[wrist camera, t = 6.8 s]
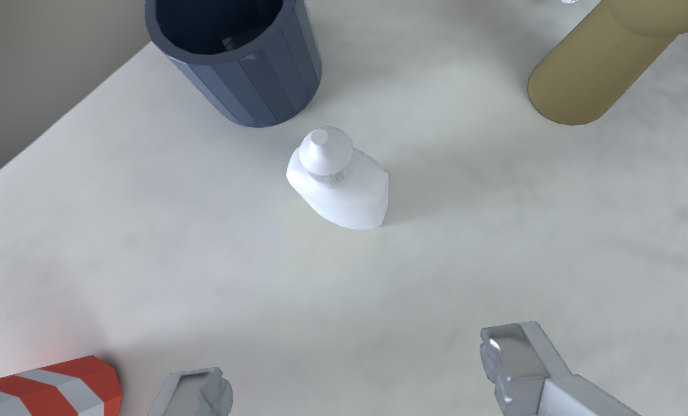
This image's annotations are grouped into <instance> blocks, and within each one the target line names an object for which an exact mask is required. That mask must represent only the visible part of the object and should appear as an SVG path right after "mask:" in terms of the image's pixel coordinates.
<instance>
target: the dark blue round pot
mask: <svg viewBox="0 0 688 416" xmlns="http://www.w3.org/2000/svg"><path fill="white" fill-rule="evenodd" d="M145 25H146V27H147V30H148V32H149V35H150V37H151V40H152V42H153V43H154V44H155V45H156V46H157V47H158V48H159V49H160V50H161V51H162V52H163V53H164V54H165V56H166V57H167V58H168V59H169V60H170V61H171V62H172V63H173V64H174V65H175V66H176V67H177V68H178V69H179V70H180V71H181V72H182V73H183V74H184V75H185V76H186V77H187V79H188V80H189V81H190V82H191V83H192V84H193V85H194V86H195V87H196V88H197V89H198V90H199V91H200V92H201V93H202V94H203V95H204V96H205V97H206V98H207V99H208V100H209V102H210V103H211V104H212V105H213V106H214V107H215V108H216V109H217V110H218V111H219V112H220V113H221V114H222V115H224V116H225V117H226V118H227V119H229V120H231V121H232V122H235V123H237V124H239V125H243V126H247V127H267V126H272V125H276V124H279V123H282V122H284V121H286V120H288V119H290V118H292V117H293V116H295V115H296V114H298V113H299V112H300V111H301V110H302V109H304V108H305V107H306V105H307V104H308V103H309V102H310V101H311V99H312V98H313V96H314V95H315V93H316V91H317V89H318V86H319V84H320V80H321V75H322V61H321V57H320V52H319V47H318V43H317V40H316V36H315V32H314V29H313V25H312V21H311V18H310V14H309V10H308V7H307V3H306V0H146V1H145Z"/></svg>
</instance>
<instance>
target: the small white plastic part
mask: <svg viewBox="0 0 688 416" xmlns="http://www.w3.org/2000/svg"><path fill="white" fill-rule="evenodd" d="M561 1H562V2H564V3H573V2H576V1H577V0H561Z"/></svg>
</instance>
